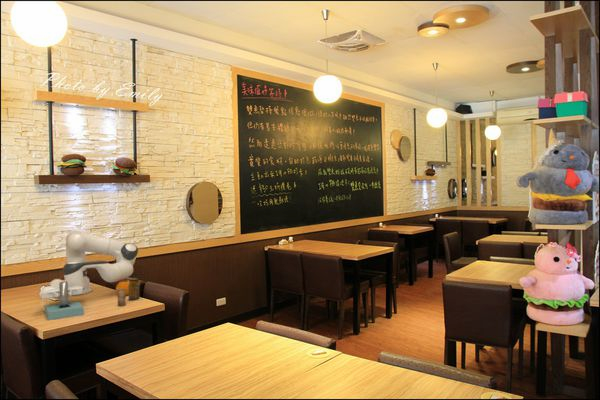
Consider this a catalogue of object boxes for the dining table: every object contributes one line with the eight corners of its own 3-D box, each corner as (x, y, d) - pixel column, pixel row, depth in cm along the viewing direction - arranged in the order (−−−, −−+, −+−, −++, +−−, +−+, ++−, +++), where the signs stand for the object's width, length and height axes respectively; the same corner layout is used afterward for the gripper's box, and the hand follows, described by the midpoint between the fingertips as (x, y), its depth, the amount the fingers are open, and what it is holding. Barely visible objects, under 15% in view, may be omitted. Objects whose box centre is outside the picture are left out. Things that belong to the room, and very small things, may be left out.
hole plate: (44, 313, 233) (44, 305, 233) (78, 308, 243) (77, 301, 243) (48, 320, 220) (48, 312, 220) (83, 314, 230) (83, 307, 230)
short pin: (117, 305, 249) (116, 289, 249) (124, 304, 251) (124, 288, 251) (118, 306, 246) (118, 290, 246) (126, 305, 248) (126, 289, 248)
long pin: (59, 312, 232) (58, 282, 232) (67, 311, 234) (67, 281, 234) (60, 314, 229) (59, 283, 228) (69, 312, 231) (68, 282, 231)
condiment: (137, 296, 269) (137, 277, 269) (142, 299, 262) (142, 279, 262) (125, 298, 264) (125, 278, 264) (130, 301, 258) (130, 281, 258)
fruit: (111, 296, 271) (111, 279, 271) (124, 291, 282) (124, 276, 282) (126, 297, 268) (126, 281, 267) (139, 293, 279) (139, 277, 278)
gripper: (81, 293, 248) (85, 298, 237) (39, 298, 236) (42, 304, 225) (80, 282, 248) (85, 286, 237) (38, 286, 236) (41, 291, 225)
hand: (64, 295), depth 231 cm, fingers closed on long pin, 4 cm apart
